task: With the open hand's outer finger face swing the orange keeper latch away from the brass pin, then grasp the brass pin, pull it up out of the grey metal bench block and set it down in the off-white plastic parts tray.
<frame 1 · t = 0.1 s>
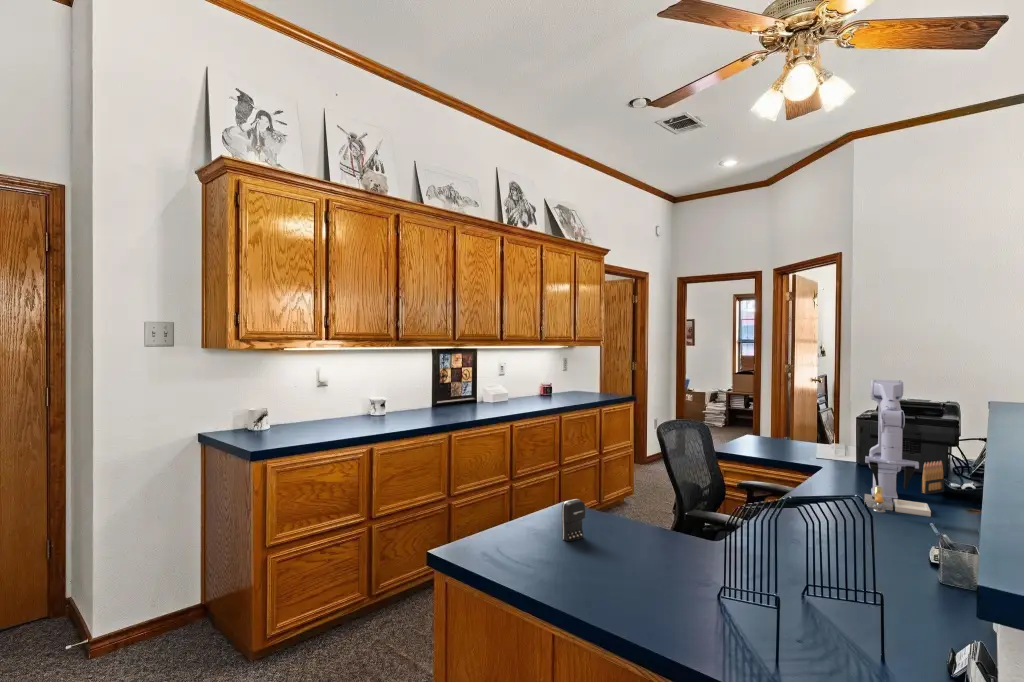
hand: (891, 486, 181), 10 cm above the counter, fingers open, 7 cm apart
pin: (878, 505, 192), resting in hitch block
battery: (574, 539, 161), on the counter
tray: (911, 510, 187), on the counter
keeper: (879, 497, 188), point 4 cm above the counter, hinge at 0.0°
hitch block: (878, 505, 192), on the counter
ammunition clip: (932, 492, 208), on the counter
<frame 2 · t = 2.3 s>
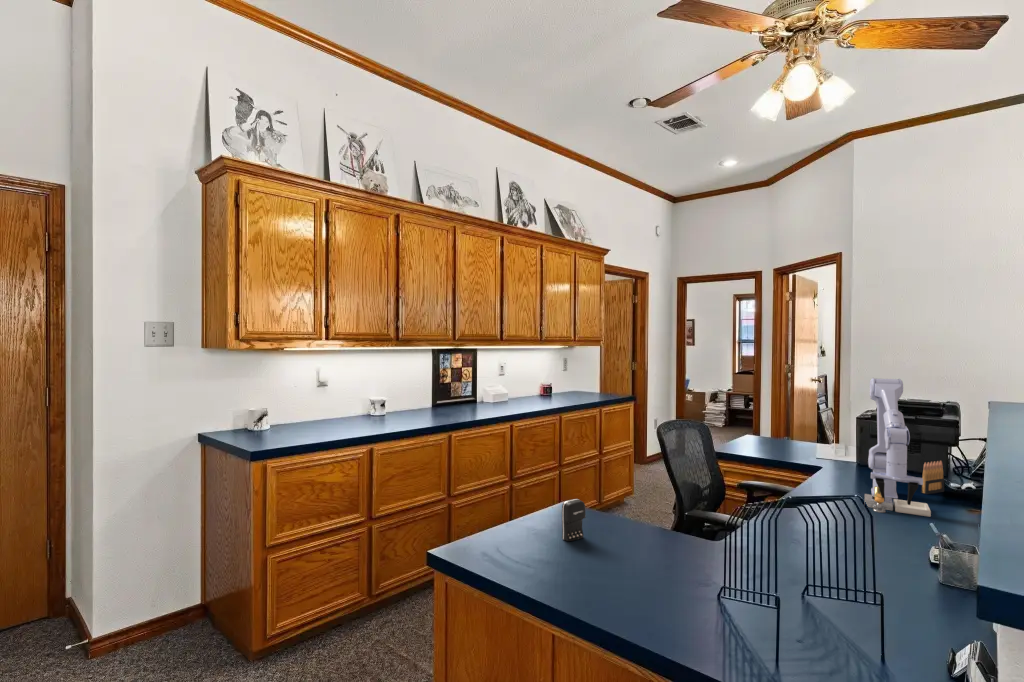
hand: (895, 502, 186), 3 cm above the counter, fingers open, 6 cm apart
keeper: (879, 497, 188), point 4 cm above the counter, hinge at 0.0°, touching gripper
everything else where it was.
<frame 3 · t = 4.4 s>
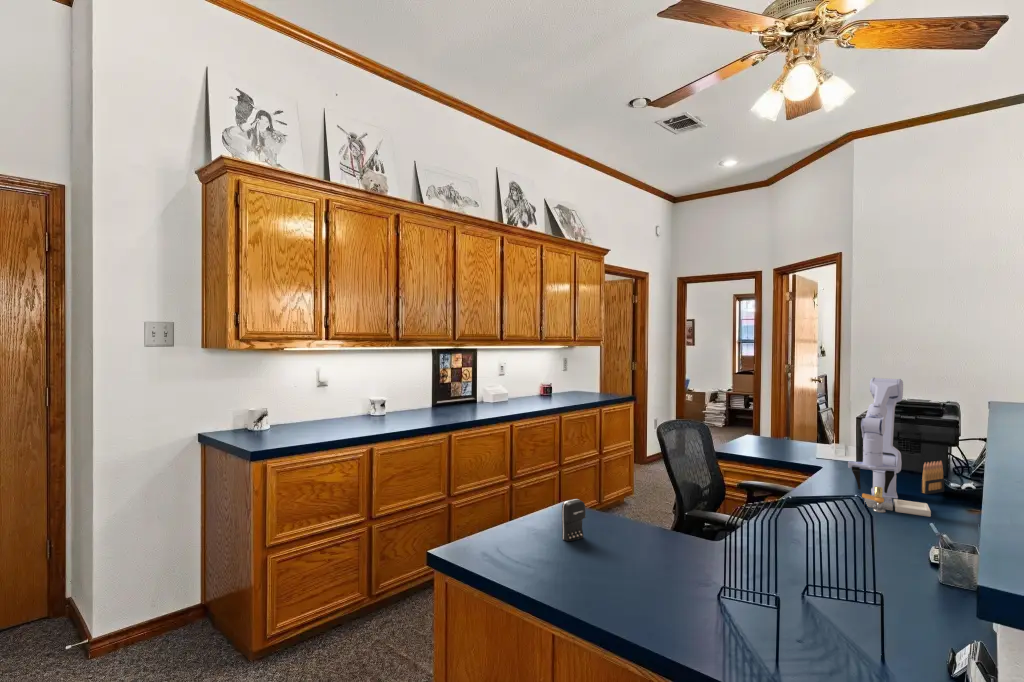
hand: (872, 490, 189), 6 cm above the counter, fingers open, 7 cm apart
keeper: (873, 497, 188), point 4 cm above the counter, hinge at 60.8°
everything else where it was.
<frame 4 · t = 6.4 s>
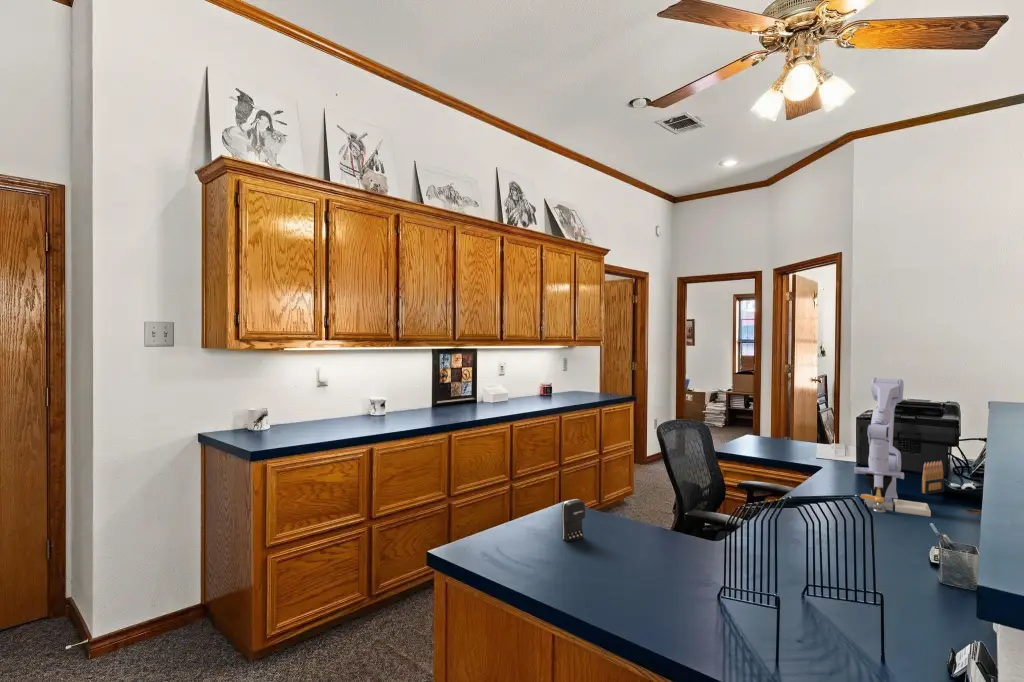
hand: (878, 495, 192), 3 cm above the counter, fingers closed on pin, 2 cm apart
pin: (878, 505, 192), resting in hitch block, touching gripper
keeper: (872, 498, 187), point 4 cm above the counter, hinge at 75.0°
everything else where it was.
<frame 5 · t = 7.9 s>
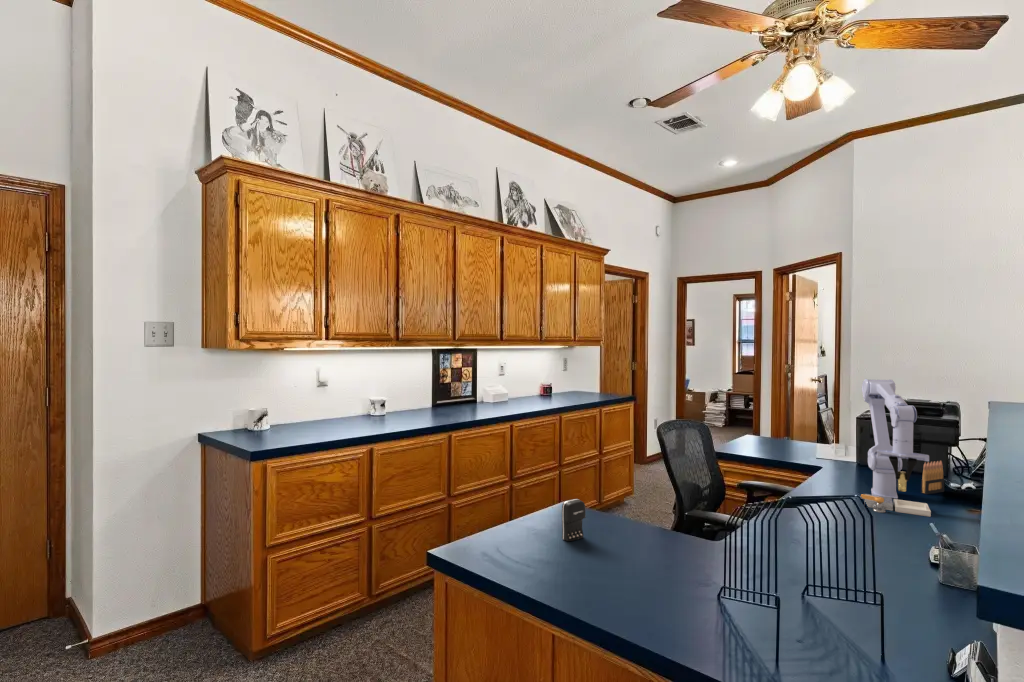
hand: (902, 479, 188), 10 cm above the counter, fingers closed on pin, 2 cm apart
pin: (902, 490, 188), point 6 cm above the counter, touching gripper
keeper: (872, 498, 187), point 4 cm above the counter, hinge at 75.8°
everything else where it was.
when the fingers open (5 cm above the counter, at t = 9.3 s): pin stays where it is, resting on tray.
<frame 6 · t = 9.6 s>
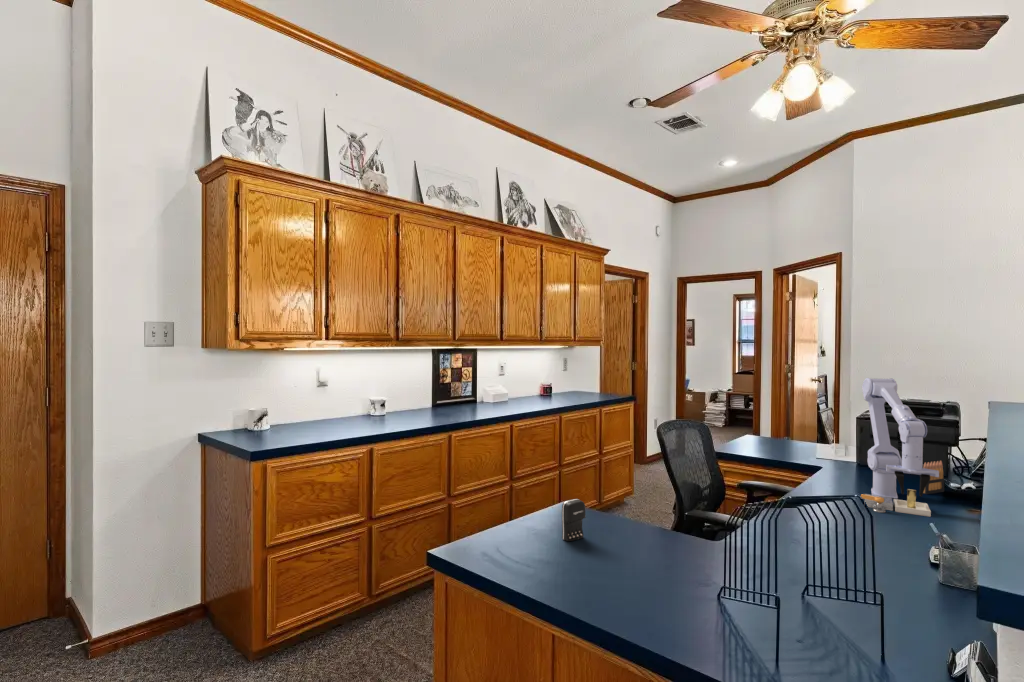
hand: (911, 494, 187), 5 cm above the counter, fingers open, 4 cm apart
pin: (911, 508, 187), point 1 cm above the counter, touching tray
everything else where it was.
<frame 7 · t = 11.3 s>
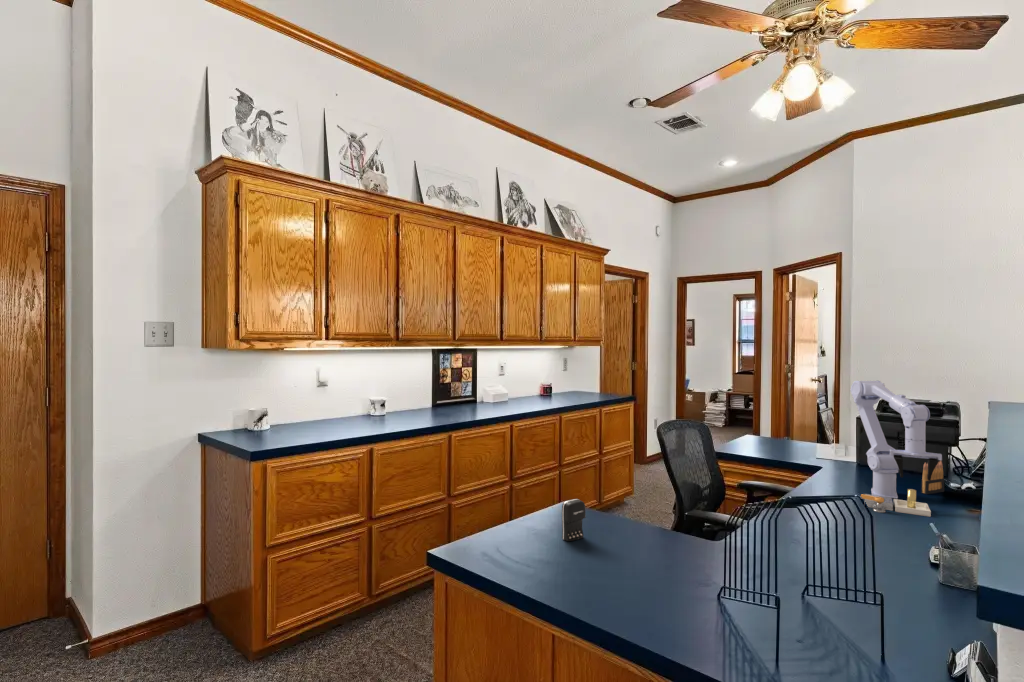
hand: (915, 478, 189), 10 cm above the counter, fingers open, 7 cm apart
nothing on the counter moved.
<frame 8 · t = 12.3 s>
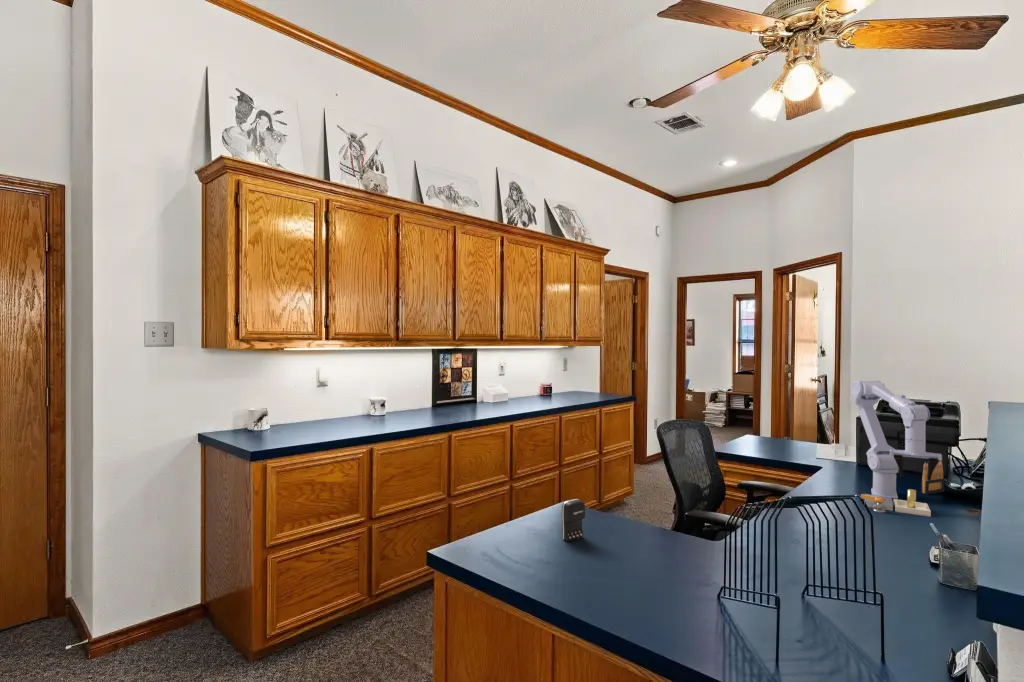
hand: (915, 478, 189), 10 cm above the counter, fingers open, 7 cm apart
nothing on the counter moved.
at the end: pin inside the target area on the tray (0.2 cm from its centre), point 0.5 cm above the tray's base; keeper at +76° (first picture: +0°); the gripper is holding nothing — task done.
